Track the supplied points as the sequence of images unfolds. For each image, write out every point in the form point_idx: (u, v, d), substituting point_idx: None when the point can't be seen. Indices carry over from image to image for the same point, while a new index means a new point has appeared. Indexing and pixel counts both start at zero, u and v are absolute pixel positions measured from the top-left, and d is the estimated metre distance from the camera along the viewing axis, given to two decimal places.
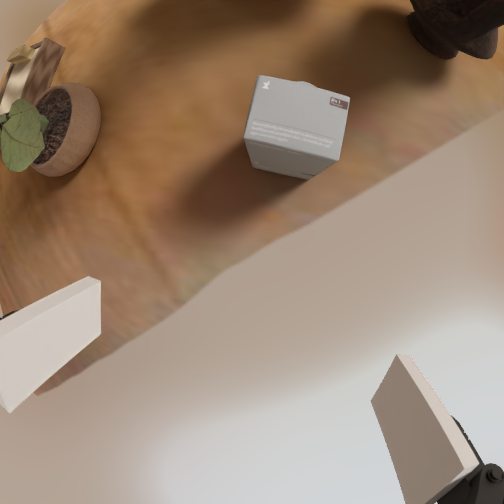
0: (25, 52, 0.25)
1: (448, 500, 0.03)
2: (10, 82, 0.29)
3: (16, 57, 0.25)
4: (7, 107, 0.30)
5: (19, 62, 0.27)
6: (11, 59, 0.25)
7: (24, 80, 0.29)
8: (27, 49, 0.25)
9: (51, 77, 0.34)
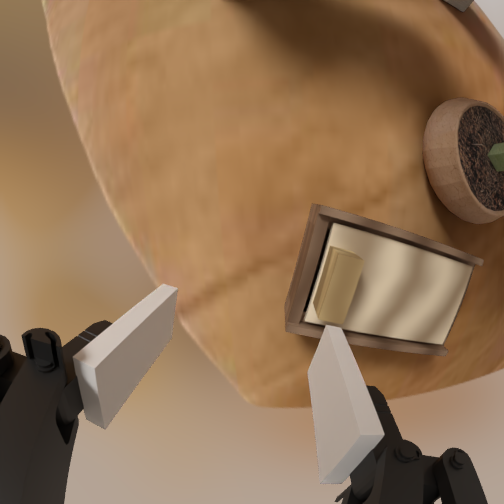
0: (350, 254, 0.23)
1: (358, 474, 0.05)
2: (369, 319, 0.26)
3: None
4: (423, 303, 0.25)
5: None
6: None
7: (398, 256, 0.25)
8: (341, 251, 0.23)
9: None
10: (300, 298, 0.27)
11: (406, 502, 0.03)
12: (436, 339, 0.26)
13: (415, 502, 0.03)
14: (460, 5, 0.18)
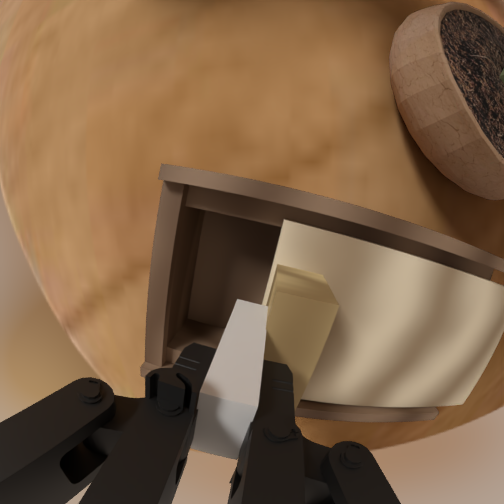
0: (311, 287, 0.11)
1: (241, 448, 0.06)
2: (352, 386, 0.15)
3: None
4: (445, 355, 0.14)
5: None
6: None
7: (410, 282, 0.13)
8: (290, 280, 0.11)
9: None
10: (154, 328, 0.15)
11: (281, 490, 0.04)
12: (455, 400, 0.14)
13: (294, 490, 0.04)
14: None
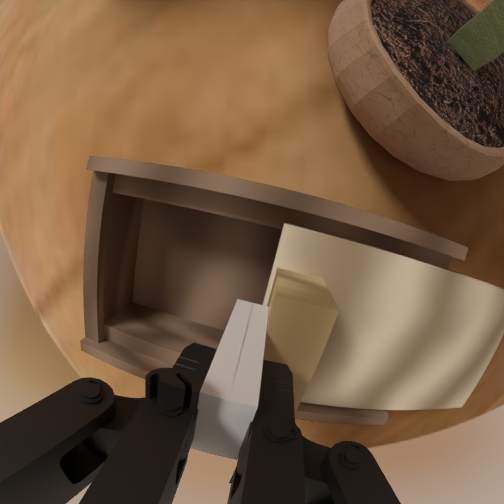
0: (311, 291, 0.11)
1: (241, 448, 0.06)
2: (351, 389, 0.15)
3: None
4: (445, 358, 0.14)
5: None
6: None
7: (411, 285, 0.13)
8: (290, 285, 0.11)
9: None
10: (89, 304, 0.15)
11: (280, 490, 0.04)
12: (455, 402, 0.14)
13: (294, 490, 0.04)
14: None
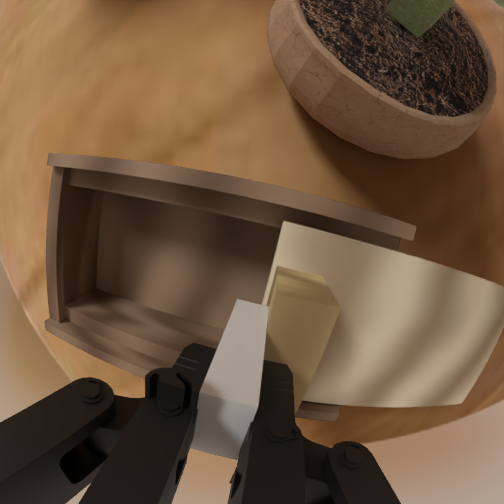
0: (312, 289, 0.11)
1: (241, 448, 0.06)
2: (352, 387, 0.15)
3: None
4: (444, 355, 0.14)
5: None
6: None
7: (410, 282, 0.13)
8: (291, 283, 0.11)
9: None
10: (51, 286, 0.15)
11: (281, 490, 0.04)
12: (454, 399, 0.14)
13: (294, 490, 0.04)
14: None
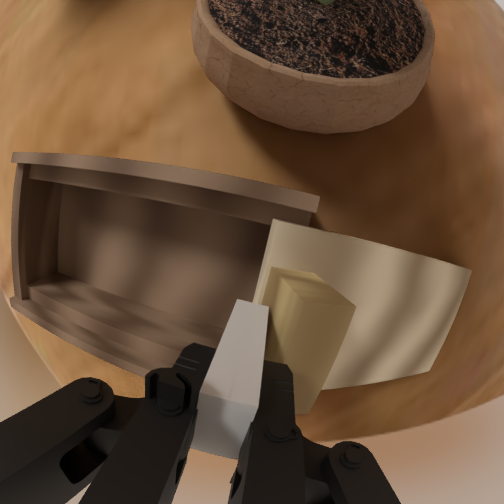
0: (321, 290, 0.11)
1: (241, 448, 0.06)
2: (338, 371, 0.16)
3: None
4: (414, 331, 0.17)
5: None
6: None
7: (388, 271, 0.15)
8: (301, 286, 0.11)
9: None
10: (15, 267, 0.16)
11: (281, 490, 0.04)
12: (423, 368, 0.19)
13: (294, 490, 0.04)
14: None
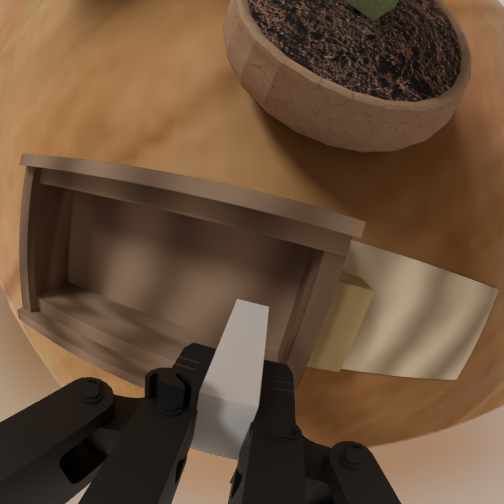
0: (354, 280, 0.16)
1: (241, 448, 0.06)
2: (372, 357, 0.20)
3: None
4: (440, 335, 0.19)
5: None
6: None
7: (415, 279, 0.18)
8: (341, 276, 0.16)
9: None
10: (23, 277, 0.15)
11: (281, 490, 0.04)
12: (450, 375, 0.20)
13: (294, 490, 0.04)
14: None
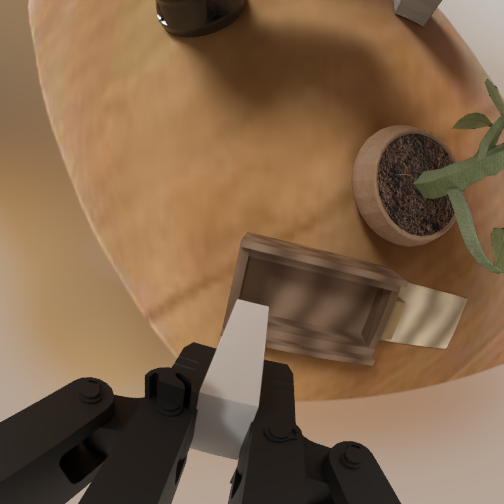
0: (397, 298, 0.35)
1: (241, 448, 0.06)
2: (401, 334, 0.39)
3: None
4: (435, 323, 0.38)
5: None
6: None
7: (422, 295, 0.37)
8: None
9: (301, 245, 0.37)
10: (230, 310, 0.34)
11: (281, 490, 0.04)
12: (442, 345, 0.38)
13: (294, 490, 0.04)
14: (419, 19, 0.26)
